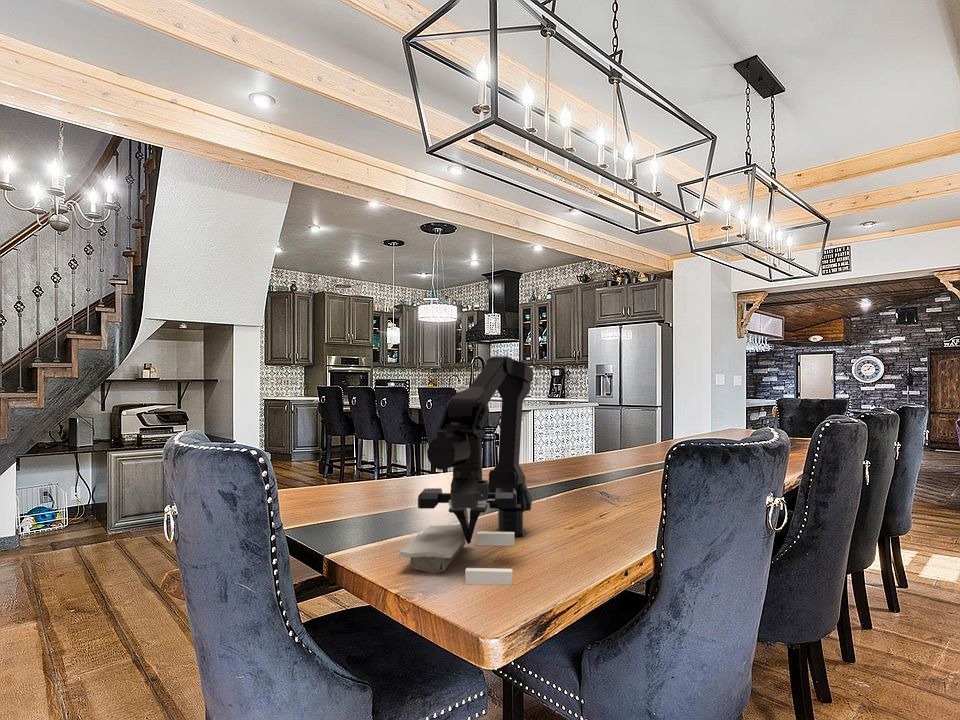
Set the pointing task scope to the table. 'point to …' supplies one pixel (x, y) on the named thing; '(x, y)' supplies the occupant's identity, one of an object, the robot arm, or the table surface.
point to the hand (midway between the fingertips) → (468, 543)
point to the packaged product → (435, 548)
